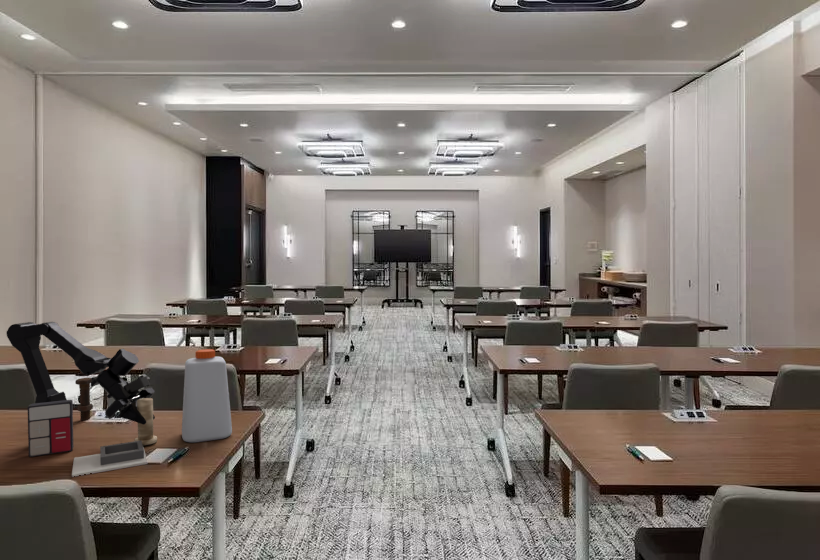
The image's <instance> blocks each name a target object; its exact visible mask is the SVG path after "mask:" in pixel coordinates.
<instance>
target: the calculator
mask: <svg viewBox="0 0 820 560" xmlns="http://www.w3.org/2000/svg"><path fill="white" fill-rule="evenodd" d="M73 407H74V405H73V399H67V400H63V401H54V402H44V403H35V402H34V403H29V405H28V406H27V434H28V435H27V436H28V437H27V438H28V439H27V440H28V443H27V444H28V457H29V458H32V457H39V456H48V455H54V454H60V453H62V454H63V453H67V452H68V451H69V452H73V450H74V416H73V414H74V411H73V410H74V408H73ZM69 452H68V453H69Z"/></svg>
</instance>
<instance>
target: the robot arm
mask: <svg viewBox="0 0 820 560" xmlns="http://www.w3.org/2000/svg"><path fill="white" fill-rule="evenodd" d="M5 335H6V337H7V339H8V341H9V343H10V344H11V346H12V348H15V349H16V350H17V351H18V352H19V353H20V354H21V357H22V360H23V362H24V365H25V368H26V370H27V373H28V375H29V378H30V381H31V384H32V386H33V390H34V391H35V394H36V396H35V401H34V403H44V402H54V401H63V400H68V399H67V397H66V393H65V392H64V391H57V390H56V389H55V387H54V384H53V382H52V378H51V375H50V373H49V370H48V368H47V365H46V363H45V362H46V361H45V360H44V357H43V355H42V351H41V348H40V344H41V341H42V336H44V337H46V338H47V340H49V341H50V342H52V344H54V345H55V346H57V347H58V349H60V350H62V351H63V352H64V353H65V354H67V356H70V357H71V359H72V360H73V361H74V364H75V365H74V366H75V367H76V368H77V369H78V370H79V371H80V372H81V373H82V374H83V375H85V376H91V375H95V374H97V376H92V377H90V378H91V379H92V381H91V383H90V387H95V386H98V385H99V386H100V387H101V388H102V389H103V390H104V391H105V392H106V393H107V396H106V397H107V398H108V399H111V398H112V399H113V402H112V403H111V404H110V405H109V406H108V407H107V408H106V409H105V410H104V415H105V416H106V418H108V420H112V419H113V418H115V417H116V416H117V417H118V418H122V419H125V420H129V421H131V422H135V423H137V424H138V423H140V424H143V425H144V424H146V423H147V422H146V420H145V419H144V417H143V416H142V415H141V414H140V412H139V411H138V410H137V400H139V399H143V398H151V397H152V396H153V395H154V394H155V393H156V391H155V389H153V387H150V386H151V383H150V382H151V377H149V376H148V375H146V374H145V373H143V374H141V375H139V376H137V379H135V380H133V381H131V380H126V381H125V379H123V377H124V376H127V375H128V374H129V373H130V371H131V370H133V369H134V367H135V366H136V365H137V364H138V363H139V362H140V361H139V358H138V356H137V355H136V354H134V353H132V352H131V351H128V350H126V349H125V348H119V349H118V350H116V352H115V354H114V355H113V357H107V356H105V354H103V353H101V352H99V351H97V350H95V349H92V348H89V347H87V346H85V345H84V344H82V342H80V341H78V340H77V339H76V338H75V337H74V336H72V335H71V334H70V333H68V332H67V331H66V330H65V329H63V328H62V327H61V326H60V325H59V324H58V322H55V321H48V322H42V323H35V322H32V321H25V322H20V323H19V322H18V323H14V324H11V325H10V326H9V327H8V329H7V330H6V334H5ZM117 412H119V414H118V415H117ZM155 419H156V417H155V415H154V413H153V421H154V420H155Z"/></svg>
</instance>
